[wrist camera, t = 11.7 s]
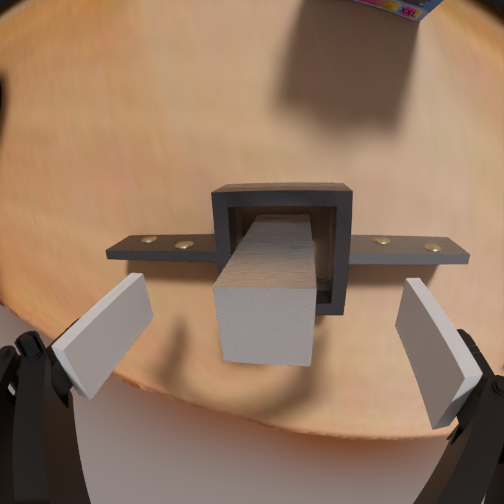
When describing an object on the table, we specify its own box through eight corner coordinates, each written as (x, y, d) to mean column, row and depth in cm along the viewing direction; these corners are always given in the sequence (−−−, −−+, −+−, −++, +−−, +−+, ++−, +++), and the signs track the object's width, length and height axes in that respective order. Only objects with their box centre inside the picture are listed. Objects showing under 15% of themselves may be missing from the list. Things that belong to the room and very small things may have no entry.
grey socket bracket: (123, 193, 23) (96, 202, 19) (453, 190, 18) (478, 200, 14) (139, 281, 26) (118, 301, 23) (438, 287, 21) (455, 310, 17)
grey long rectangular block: (260, 261, 23) (223, 361, 12) (258, 214, 22) (212, 286, 11) (308, 262, 23) (310, 365, 12) (309, 214, 21) (316, 288, 10)
